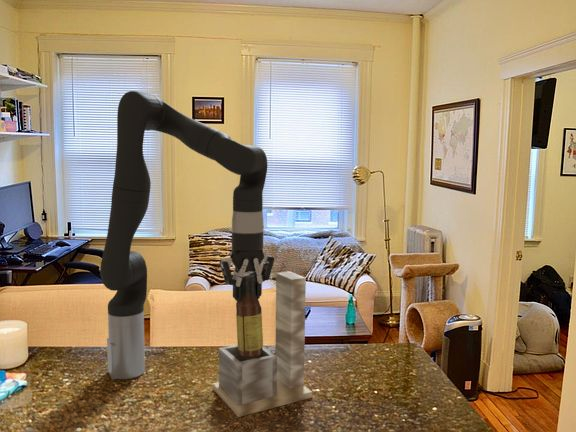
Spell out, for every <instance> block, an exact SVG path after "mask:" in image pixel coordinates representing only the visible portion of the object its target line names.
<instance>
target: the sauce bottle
mask: <svg viewBox="0 0 576 432" xmlns="http://www.w3.org/2000/svg"><path fill="white" fill-rule="evenodd" d="M255 281H256V276H255V275H254V274H252V273H251V272H250V273H248V272H245V274H244V277H243V278H242V281H241V284H240V286H241V301H239V302H237V301H236V303H235V307H236V313H235V315H236V316H235V317H236V334H237V335H236V337H237V340H236V341H237V345H238V349H239V355H241V356H244V357H250V358H251V357H257V356H259V355H261V354H262V352H263V348H262V347H263V346H264V336H263V335H264V334H263V316H262V306H261V303H260V299H257V295H256V290H255Z"/></svg>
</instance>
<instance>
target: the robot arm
mask: <svg viewBox="0 0 576 432" xmlns="http://www.w3.org/2000/svg"><path fill="white" fill-rule="evenodd" d="M116 120H117V121H116V122H117V124H116V126H117V127H116V128H117V129H116V132H117V134H116V135H117V136H116V137H117V138H116V154H115V166H114V167H115V168H114V175H113V176H114V178H113V182H112V183H113V184H112V190H111V201H110V202H111V205H110V214H109V219H108V225H107V226H108V227H107V233H106V239H105V244H104V248H103V252H102V258H101V262H100V269H99V270H100V271H99V272H100V279H101V282H102V284H103V286H104V287H105V288H106V289H107V290H110V291H112V292H113V291H116V293H115V294H114V296H113V297H112V298H111V299H110V300H109V301H108V303H107V329H108V330H107V331H108V337H107V339H106V346H107V348H106V349H107V351H106V352H107V372H108V375H109V376H110V378H111V380H128V379H129V380H130V379H134V378H138V377H140V376H142V375H143V374H144V373H145V371H146V362H145V361H146V360H145V358H146V356H145V353H146V351H145V318H144V317H145V311H144V310H145V309H144V307H145V302H146V300H147V295H148V291H147V290H148V289H147V288H148V268H147V267H148V266H147V263H146V260H145V258H144V256H143V255H142V254H141V253H139V252H137V251H134V250H131V248H132V242H133V239H134V236H135V234H136V232H137V230H138V228H139V227H140V225H141V223H142V221H143V220H144V217H145V216H146V213H147V210H148V207H149V203H150V195H151V187H152V186H151V184H152V182H151V176H150V172H149V170H148V167H147V163H146V160H145V157H144V149H143V148H144V139H145V138H144V137H145V132H146V131H156V132H160V133H164V134H167V135H169V136H171V137H174V138H176V139H177V140H179V141H180V142H182V143H183V144H184V145H185V146H187V148H189V149H190V150H192V151H194V152H196V153H197V154H199V155H202V156H204V157H206V158H207V159H210V160H212V161H215V162H216V163H218V164H219V165H220V166H221V167H223V168H225V169H226V170H228V171H229V172H230V173H233V174H236V175H238V176H239V183H238V185H237V186H236V187H235V188H234V189H233V193H232V194H233V195H232V217H231V253H230V257H228V258H226V259H220V260H219V265H220V268H221V269H220V270H221V272H222V275H223V278H224V282H225V283H226V284H228V285H229V286H232V298H233V299H234V300H235V301H236V302H239V301H241V286H240V284H241V281H242V278H243V277H244V274H246V273H248V272H250V273H252V274H254V275H255V276H256V281H255V290H256V295H257V299H258V300H260V299H261V296H262V293H263V292H262V290H263V283H264V282H265V281H269V280H270V276H271V272H272V270H273V266H274V263H275V257H274V256H272V255H269V254H268V255H265V253H264V251H263V249H264V228H265V226H264V214H263V207H264V206H263V205H264V204H263V203H264V202H263V193H264V192H263V191H264V187H265V185H266V184H265V183H266V178H267V173H268V172H267V171H268V158H267V155H266V152H265V151H264V149H262V147H260V146H257V145H247V144H243V143H240V142H237V141H236V140H233V139H232V138H231V136H230V135H229V134H227V133H224V132H222V131H221V130H218V129H216V128H215V127H212V126H209V125H207V124H206V123H202V121H201V122H200V121H198V120H196V119H194V118H191V117H189V116H187V115H185V114H183V113H182V112H180V111H178V110H177V109H176V108H174V107H172V106H171V105H170V104H168V103H167V102H165V101H164V100H163V99H162V98H159V97H158V96H157V95H155V94H152V93H147V92H142V91H137V90H130V91H127V92H125V93H124V94H123V95H122V96H121V98H120V100H119V103H118V106H117V117H116ZM262 262H263V265H262V269H261V267H260V265H261V264H262ZM232 264H233V265H234V269H233V273H232V272H231V267H232ZM232 274H233V276H232Z"/></svg>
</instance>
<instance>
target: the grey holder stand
mask: <svg viewBox="0 0 576 432" xmlns="http://www.w3.org/2000/svg"><path fill="white" fill-rule="evenodd" d="M275 276H276V277H275V279H276V283H275V348H274V349H275V354H274V353H273V352H272V351H271V350H270V349H268V348H267V347H265V346H264V345H263V347H262V348H263V352H262V354H261V355H259V356H257V357H251V358H250V357H244V356H241V355H239V349H238V344H233V345H228V346H223V347H219V348H218V381H216V382H213V383H212V390H213V391H214V393H216V394H217V396H219V397H220V399H221V400H222V401H223V402H224V403H225V404H226V405H227V406H228V408H230V410H231V411H232V412H233V413H234V414H235V415H236V416H237V418H241V417H243V416H244V417H245V416H248V415H251V414H255V413H258V412H259V413H260V412H263V411H266V410H270V409H274V408H278V407H281V406H282V407H283V406H285V405H290V404H293V403H295V402H299V401H300V402H301V401H304V400H308V399H312V398H313V391H312V390H311V389H309V388H308V387H307V386H305V385H304V384H305V346H306V345H305V344H306V343H305V341H306V338H305V336H306V335H305V334H306V294H307V292H306V289H307V288H306V287H307V286H306V285H307V284H306V283H307V282H306V280H307V278H306V277H305V276H302V275H300V274H298V273H295V272H292V271H289V270H288V271H280V272H276V275H275Z"/></svg>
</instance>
